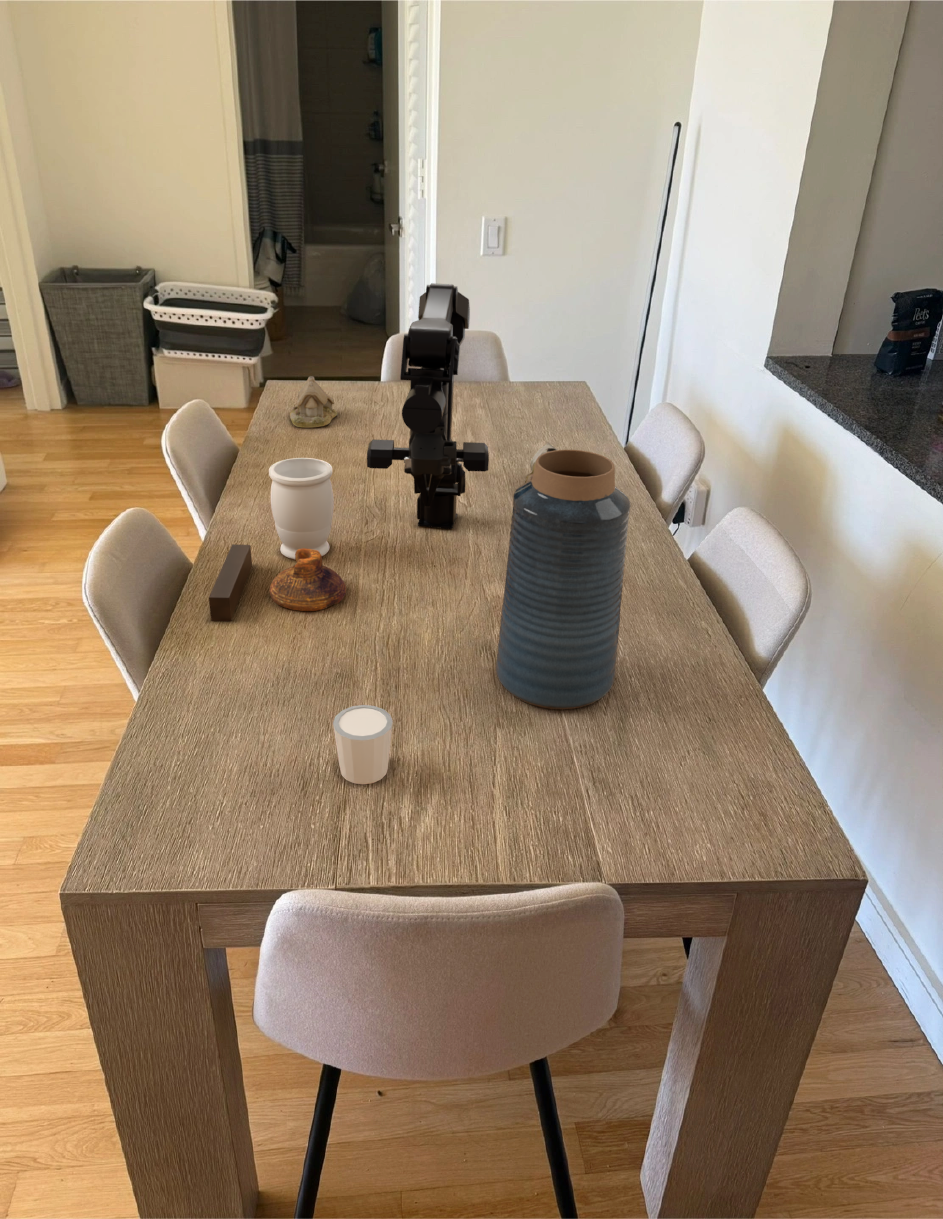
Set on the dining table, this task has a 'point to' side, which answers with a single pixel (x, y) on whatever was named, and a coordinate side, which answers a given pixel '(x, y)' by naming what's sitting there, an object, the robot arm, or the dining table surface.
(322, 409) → the ceramic model
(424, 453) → the robot arm
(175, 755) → the dining table surface
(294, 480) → the jar
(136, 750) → the dining table surface
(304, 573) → the brown clay pot
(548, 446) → the ceramic sculpture
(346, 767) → the white cup
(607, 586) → the vase
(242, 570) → the bar
